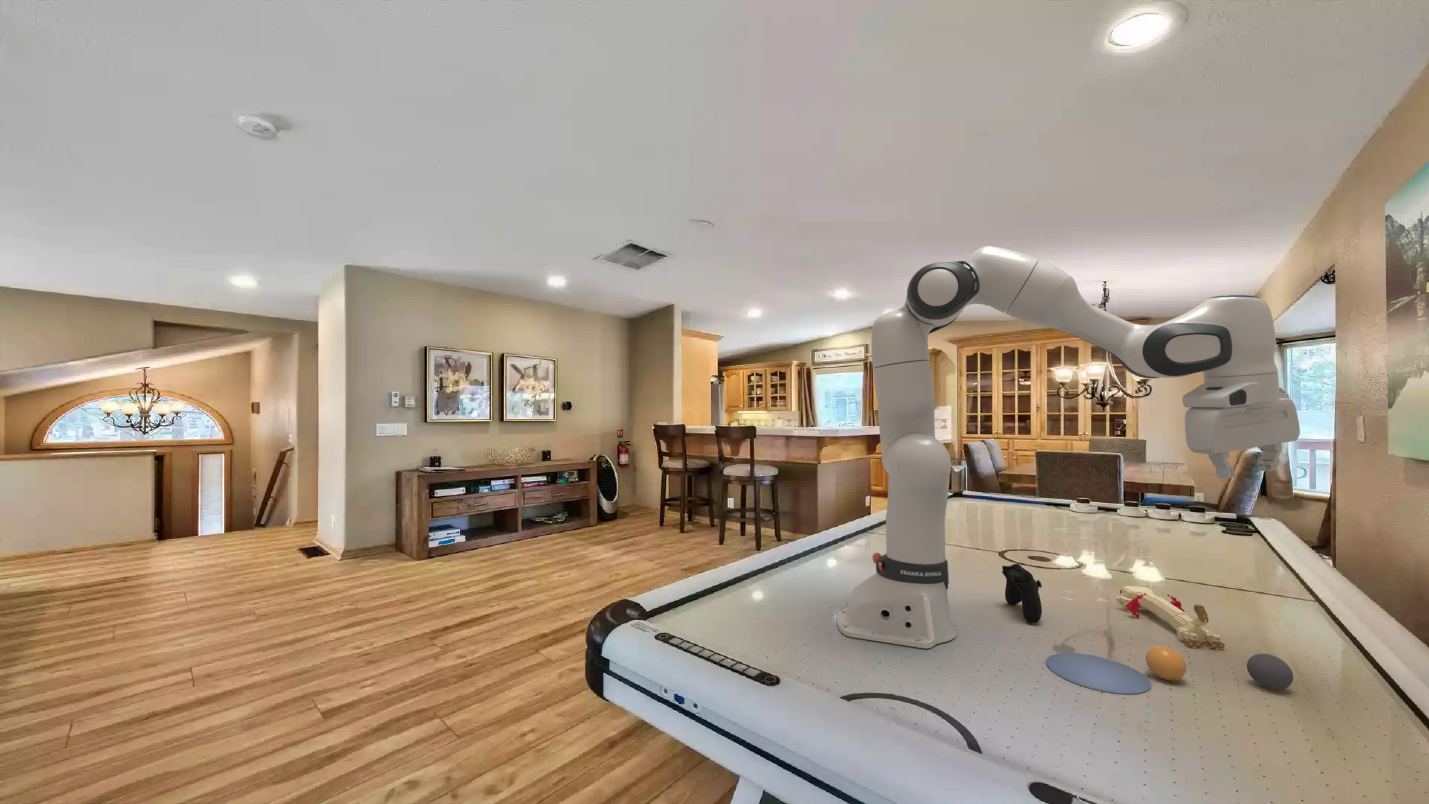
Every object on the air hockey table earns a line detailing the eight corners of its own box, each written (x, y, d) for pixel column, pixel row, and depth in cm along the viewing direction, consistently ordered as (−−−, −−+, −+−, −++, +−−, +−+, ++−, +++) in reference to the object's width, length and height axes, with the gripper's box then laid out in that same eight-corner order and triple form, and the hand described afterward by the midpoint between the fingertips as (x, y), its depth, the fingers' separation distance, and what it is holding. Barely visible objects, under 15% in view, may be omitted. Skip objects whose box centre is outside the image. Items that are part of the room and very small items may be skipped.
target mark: (1067, 689, 82) (1067, 687, 82) (1033, 650, 96) (1033, 649, 96) (1172, 698, 79) (1172, 697, 79) (1121, 658, 93) (1121, 656, 93)
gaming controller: (1053, 627, 107) (1051, 577, 107) (1020, 625, 108) (1019, 575, 108) (1026, 604, 121) (1025, 559, 121) (997, 602, 122) (997, 558, 122)
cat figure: (1237, 659, 96) (1153, 601, 120) (1239, 612, 95) (1153, 563, 120) (1174, 654, 98) (1103, 599, 122) (1175, 608, 97) (1104, 561, 122)
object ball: (1157, 684, 84) (1156, 652, 84) (1139, 670, 89) (1138, 639, 89) (1194, 687, 83) (1193, 655, 83) (1174, 673, 87) (1173, 642, 88)
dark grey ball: (1263, 694, 81) (1262, 660, 81) (1238, 678, 86) (1237, 646, 86) (1303, 697, 80) (1302, 663, 80) (1276, 681, 85) (1274, 649, 85)
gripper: (1263, 386, 94) (1269, 464, 95) (1174, 398, 90) (1180, 479, 90) (1310, 385, 88) (1316, 468, 88) (1216, 397, 83) (1223, 485, 84)
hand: (1247, 474), depth 89 cm, fingers open, 8 cm apart
